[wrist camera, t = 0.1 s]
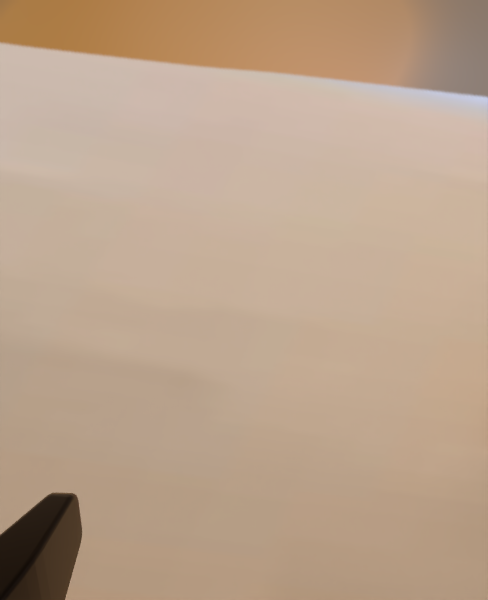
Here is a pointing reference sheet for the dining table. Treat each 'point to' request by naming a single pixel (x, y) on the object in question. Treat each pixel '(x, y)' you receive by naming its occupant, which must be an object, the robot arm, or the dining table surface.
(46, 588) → the robot arm
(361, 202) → the dining table surface
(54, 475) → the dining table surface
